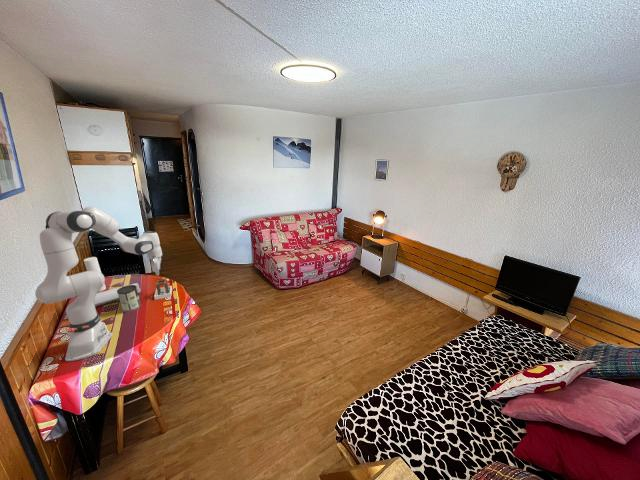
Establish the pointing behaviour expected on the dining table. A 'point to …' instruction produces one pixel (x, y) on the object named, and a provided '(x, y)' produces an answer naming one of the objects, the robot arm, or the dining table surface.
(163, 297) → the cream tray
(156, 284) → the brown open box frame
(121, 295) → the coffee can
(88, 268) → the cylindrical container
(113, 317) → the dining table surface
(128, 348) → the dining table surface
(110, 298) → the tray
